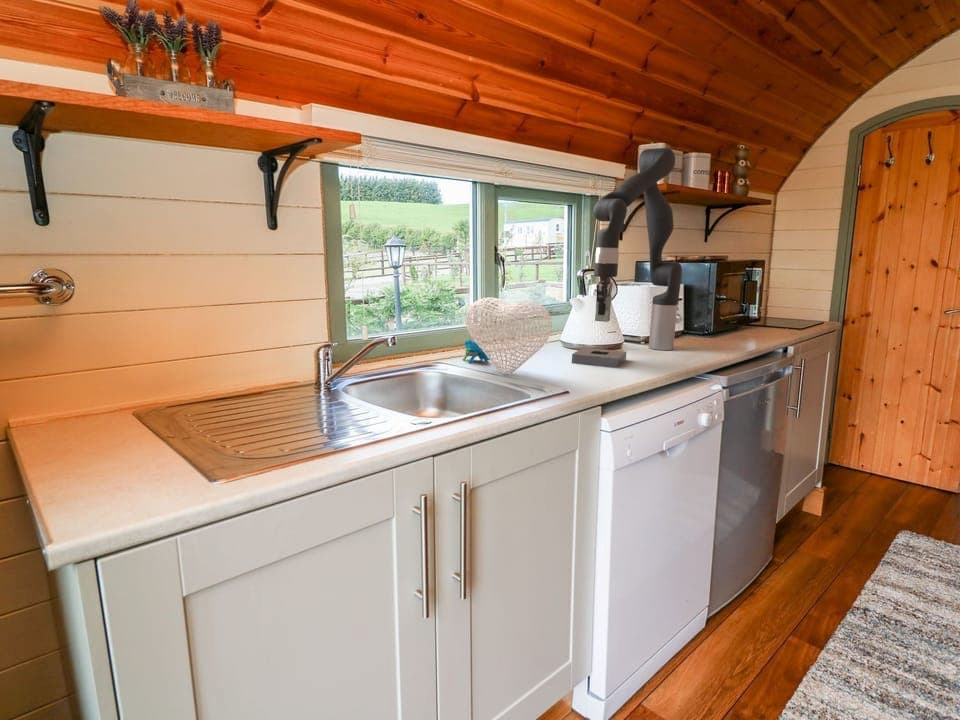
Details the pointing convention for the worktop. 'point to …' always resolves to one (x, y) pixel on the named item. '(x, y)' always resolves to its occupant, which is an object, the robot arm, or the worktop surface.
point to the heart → (508, 330)
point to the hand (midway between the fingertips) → (602, 313)
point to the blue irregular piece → (474, 351)
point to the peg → (607, 311)
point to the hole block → (599, 357)
